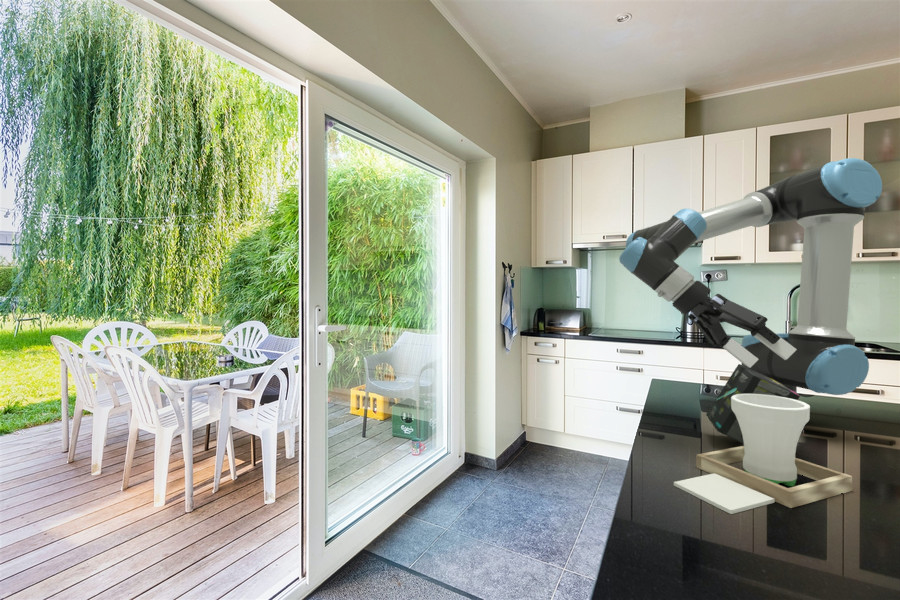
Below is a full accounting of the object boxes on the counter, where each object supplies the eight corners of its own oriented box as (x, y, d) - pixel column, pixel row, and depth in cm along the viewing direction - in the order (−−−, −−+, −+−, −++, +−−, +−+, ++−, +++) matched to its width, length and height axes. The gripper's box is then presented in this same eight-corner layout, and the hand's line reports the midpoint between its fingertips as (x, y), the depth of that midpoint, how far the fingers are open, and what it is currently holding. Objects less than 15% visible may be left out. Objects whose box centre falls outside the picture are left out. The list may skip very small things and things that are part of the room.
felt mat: (714, 476, 73) (714, 473, 73) (774, 502, 64) (774, 498, 64) (673, 485, 70) (673, 482, 70) (730, 514, 60) (730, 510, 60)
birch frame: (752, 456, 82) (752, 444, 82) (852, 490, 67) (852, 476, 67) (696, 467, 77) (696, 454, 77) (790, 508, 62) (790, 492, 62)
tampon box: (762, 455, 83) (803, 396, 80) (716, 431, 86) (753, 374, 83) (746, 435, 93) (781, 382, 90) (705, 414, 96) (738, 362, 93)
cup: (718, 465, 78) (717, 393, 78) (776, 465, 78) (775, 393, 78) (760, 493, 67) (760, 409, 67) (829, 493, 66) (828, 409, 66)
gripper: (656, 316, 101) (730, 377, 93) (690, 285, 77) (794, 364, 70) (677, 295, 101) (753, 355, 93) (718, 259, 77) (824, 335, 70)
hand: (771, 360), depth 81 cm, fingers open, 13 cm apart
